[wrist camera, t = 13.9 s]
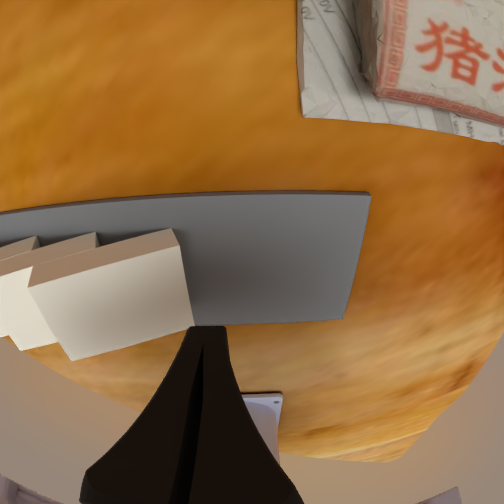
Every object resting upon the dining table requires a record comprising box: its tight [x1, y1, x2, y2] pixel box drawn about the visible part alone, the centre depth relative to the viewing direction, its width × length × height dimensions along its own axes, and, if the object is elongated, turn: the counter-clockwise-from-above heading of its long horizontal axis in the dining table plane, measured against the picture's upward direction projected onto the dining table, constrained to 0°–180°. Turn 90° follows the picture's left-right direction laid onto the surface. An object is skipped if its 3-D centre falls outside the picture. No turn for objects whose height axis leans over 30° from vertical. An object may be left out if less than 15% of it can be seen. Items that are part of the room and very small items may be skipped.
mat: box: [0, 191, 371, 325], centre depth 15 cm, size 8×28×1 cm, turn 90°
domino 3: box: [28, 228, 195, 361], centre depth 13 cm, size 2×5×7 cm
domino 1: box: [0, 235, 41, 337], centre depth 13 cm, size 2×5×7 cm
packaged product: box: [297, 0, 504, 146], centre depth 7 cm, size 18×5×10 cm
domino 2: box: [0, 232, 100, 351], centre depth 13 cm, size 2×5×7 cm
